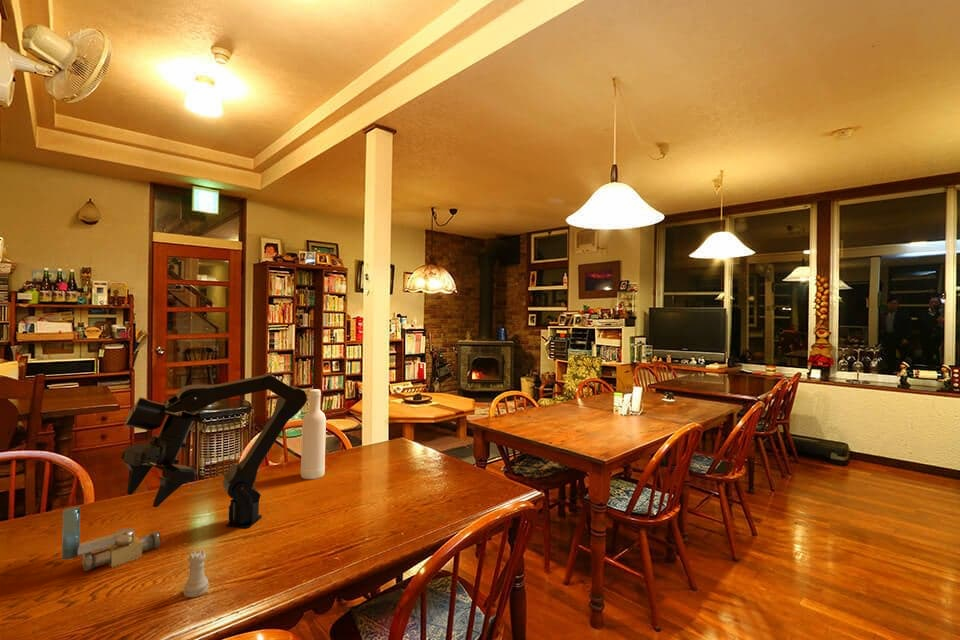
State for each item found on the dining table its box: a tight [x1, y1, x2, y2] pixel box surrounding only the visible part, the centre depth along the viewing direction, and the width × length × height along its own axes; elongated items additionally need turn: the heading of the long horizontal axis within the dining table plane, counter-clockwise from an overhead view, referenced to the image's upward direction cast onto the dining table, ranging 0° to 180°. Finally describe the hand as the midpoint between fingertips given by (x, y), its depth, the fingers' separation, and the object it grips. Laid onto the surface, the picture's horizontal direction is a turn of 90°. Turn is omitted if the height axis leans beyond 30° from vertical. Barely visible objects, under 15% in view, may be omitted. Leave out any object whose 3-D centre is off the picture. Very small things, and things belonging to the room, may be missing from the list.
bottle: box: [300, 388, 327, 480], centre depth 159 cm, size 8×8×30 cm
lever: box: [61, 506, 135, 560], centre depth 101 cm, size 12×4×10 cm, turn 139°
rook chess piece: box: [183, 549, 210, 599], centre depth 93 cm, size 4×4×8 cm
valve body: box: [81, 530, 162, 572], centre depth 104 cm, size 14×6×4 cm, turn 143°
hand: (141, 500), depth 108 cm, fingers open, 9 cm apart
